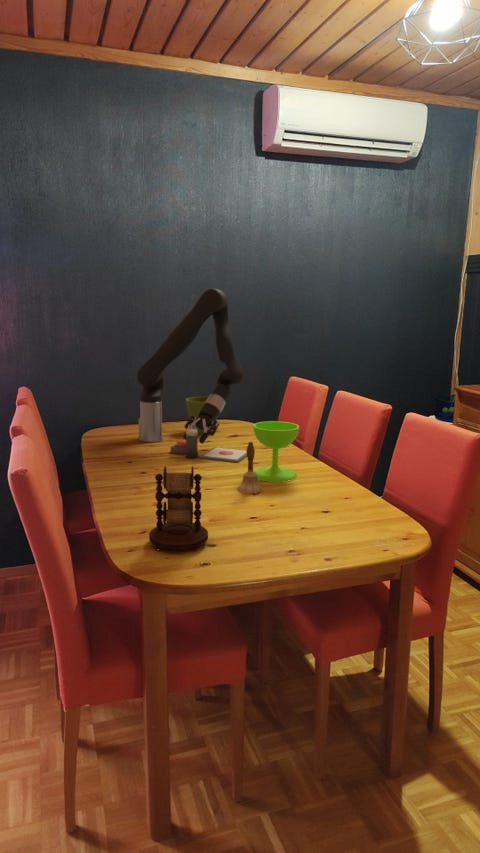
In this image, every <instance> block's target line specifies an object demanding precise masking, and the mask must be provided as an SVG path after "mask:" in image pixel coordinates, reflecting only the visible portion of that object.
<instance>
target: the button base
mask: <svg viewBox="0 0 480 853" xmlns="http://www.w3.org/2000/svg"><path fill="white" fill-rule="evenodd" d="M170 454H175V455H176V454H178V455H185V456H186V448H181V447H177V443H175V444H174V445H172V446H170Z"/></svg>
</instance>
